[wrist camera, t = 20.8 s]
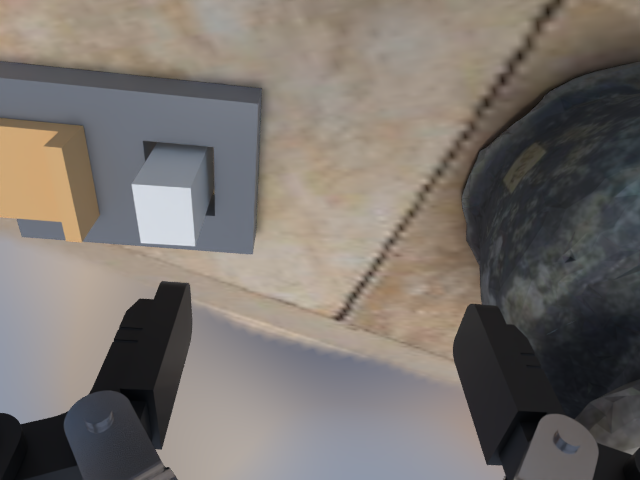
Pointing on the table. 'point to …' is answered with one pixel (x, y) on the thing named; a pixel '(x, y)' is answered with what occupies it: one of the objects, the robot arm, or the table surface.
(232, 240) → the socket plate
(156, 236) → the plug
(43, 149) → the tan l-shaped block
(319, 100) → the table surface
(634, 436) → the clay pot
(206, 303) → the table surface
